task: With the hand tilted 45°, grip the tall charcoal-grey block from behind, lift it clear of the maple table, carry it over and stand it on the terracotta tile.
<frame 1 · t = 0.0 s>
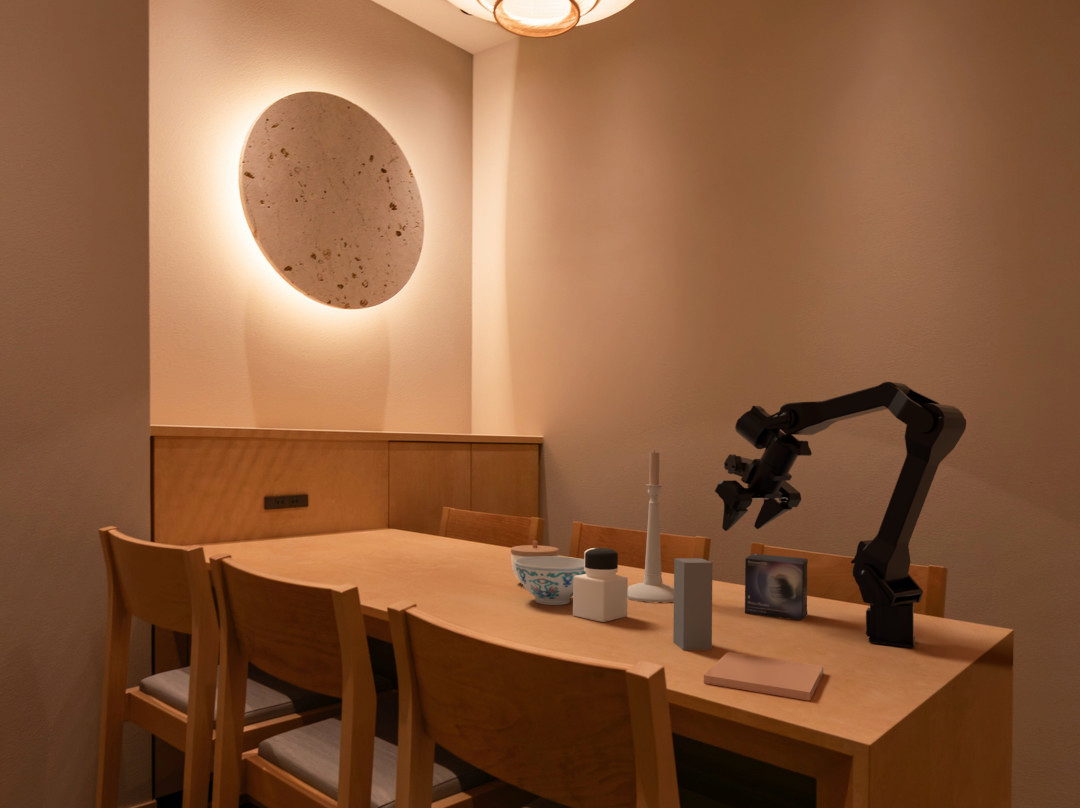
hand: (740, 528, 147), 15 cm above the table, tool tilted 35°, fingers open, 9 cm apart
grey block: (692, 645, 115), on the table
chinaware: (552, 602, 146), on the table
lidded jar: (534, 584, 165), on the table
candlestick: (652, 597, 153), on the table
terracotta tile: (765, 678, 99), on the table
small box: (775, 615, 139), on the table
medicine bottle: (599, 617, 134), on the table
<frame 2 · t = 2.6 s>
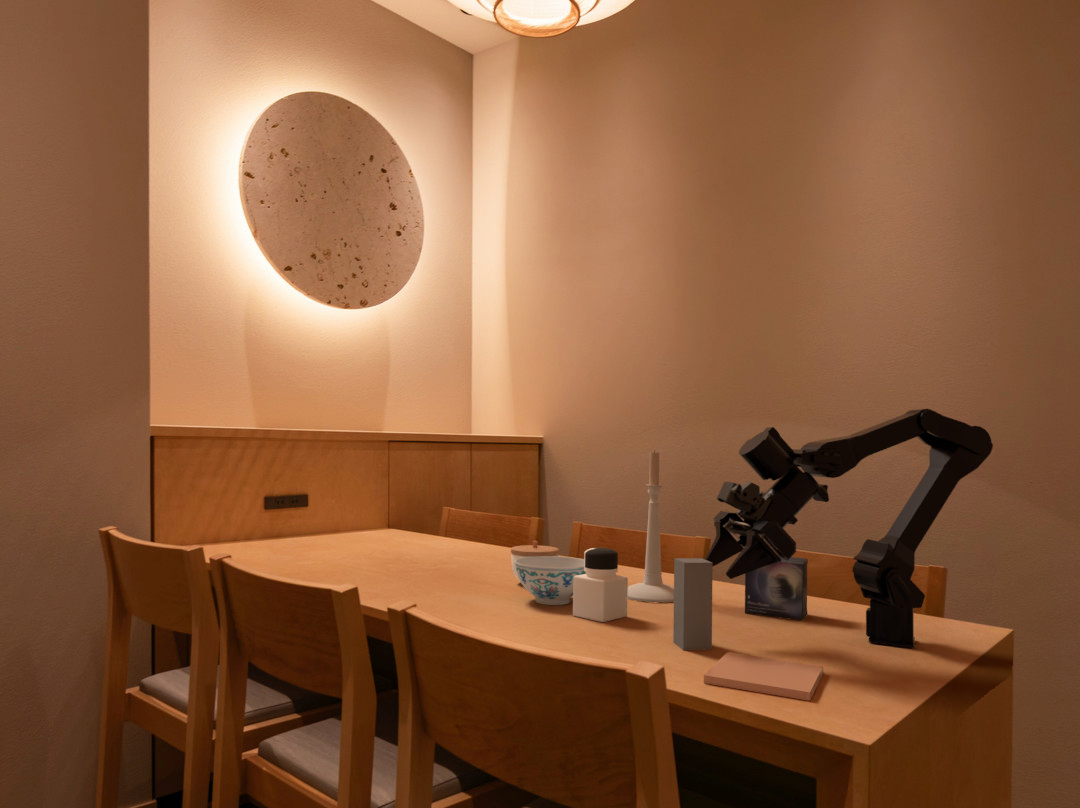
hand: (715, 571, 116), 11 cm above the table, tool tilted 45°, fingers open, 9 cm apart
nothing on the table moved.
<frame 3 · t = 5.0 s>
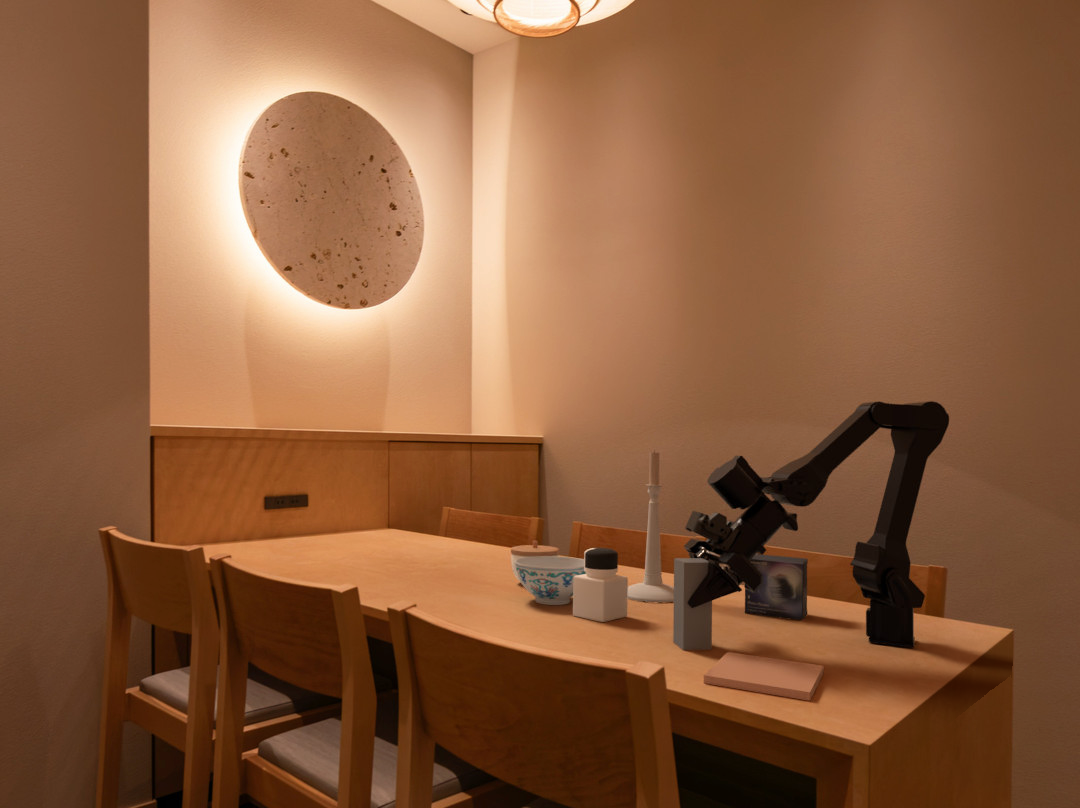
hand: (684, 602, 115), 7 cm above the table, tool tilted 45°, fingers closed on grey block, 4 cm apart
grey block: (692, 645, 115), on the table, touching gripper
everything else where it was.
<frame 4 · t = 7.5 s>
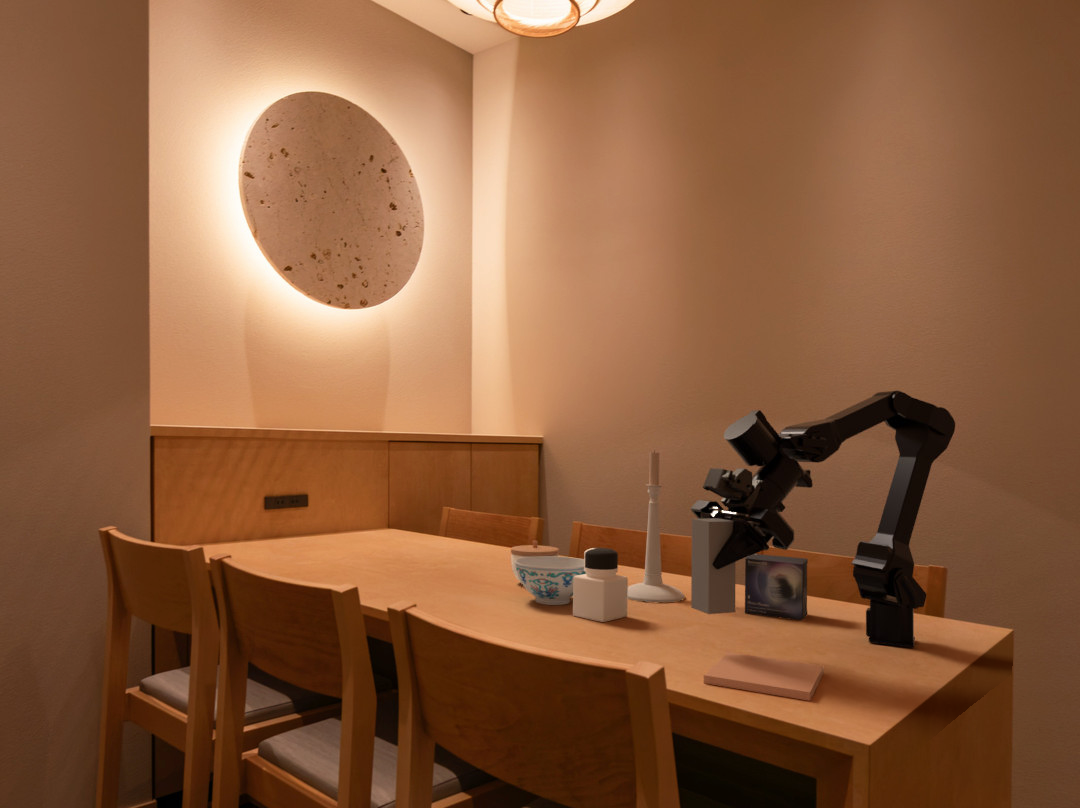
hand: (705, 564, 108), 13 cm above the table, tool tilted 45°, fingers closed on grey block, 4 cm apart
grey block: (713, 609, 108), point 7 cm above the table, touching gripper
everything else where it was.
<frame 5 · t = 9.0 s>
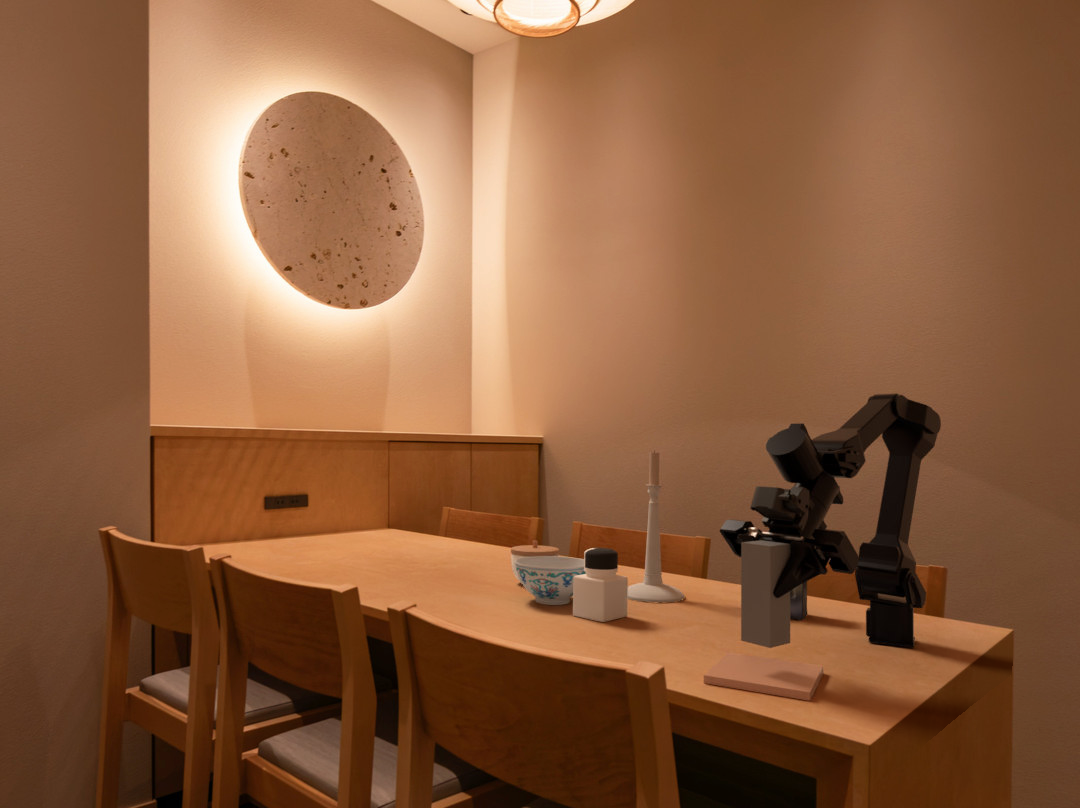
hand: (759, 592, 99), 11 cm above the table, tool tilted 45°, fingers closed on grey block, 4 cm apart
grey block: (765, 641, 99), point 5 cm above the table, touching gripper
everything else where it was.
when the fingers open (8 cm above the table, at t = 10.3 s): grey block stays where it is, resting on terracotta tile.
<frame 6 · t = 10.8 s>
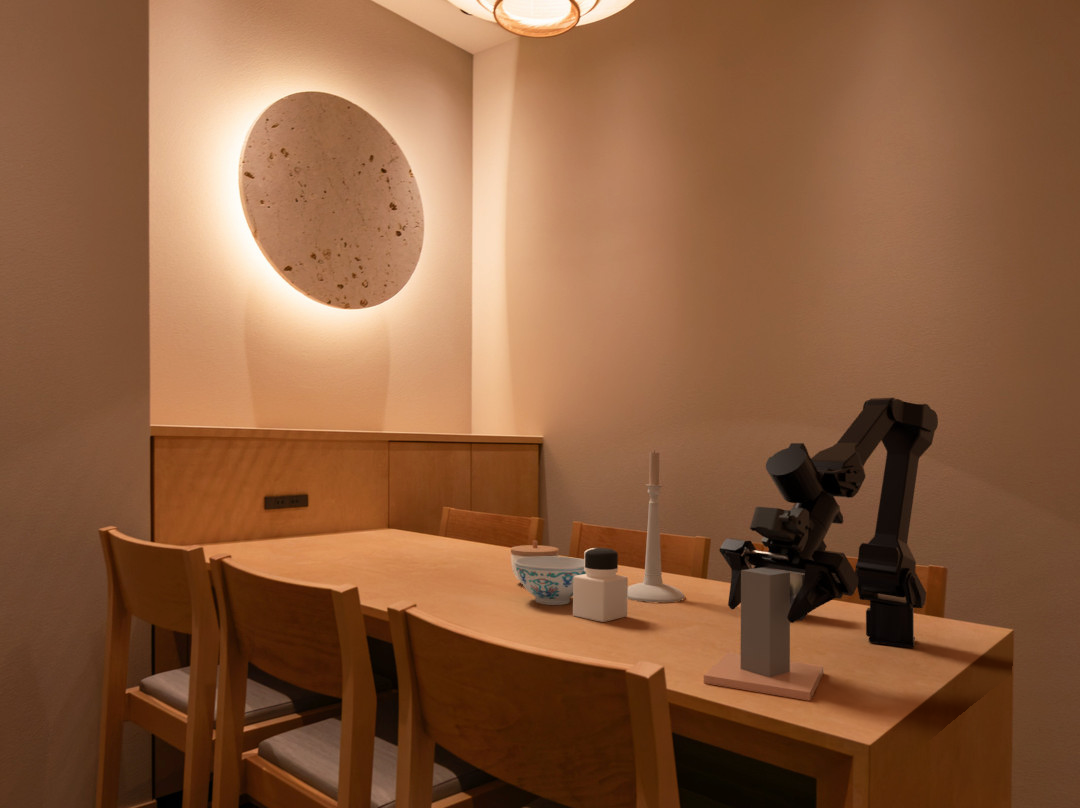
hand: (759, 613, 98), 9 cm above the table, tool tilted 45°, fingers open, 9 cm apart
grey block: (765, 670, 99), point 1 cm above the table, touching terracotta tile
everything else where it was.
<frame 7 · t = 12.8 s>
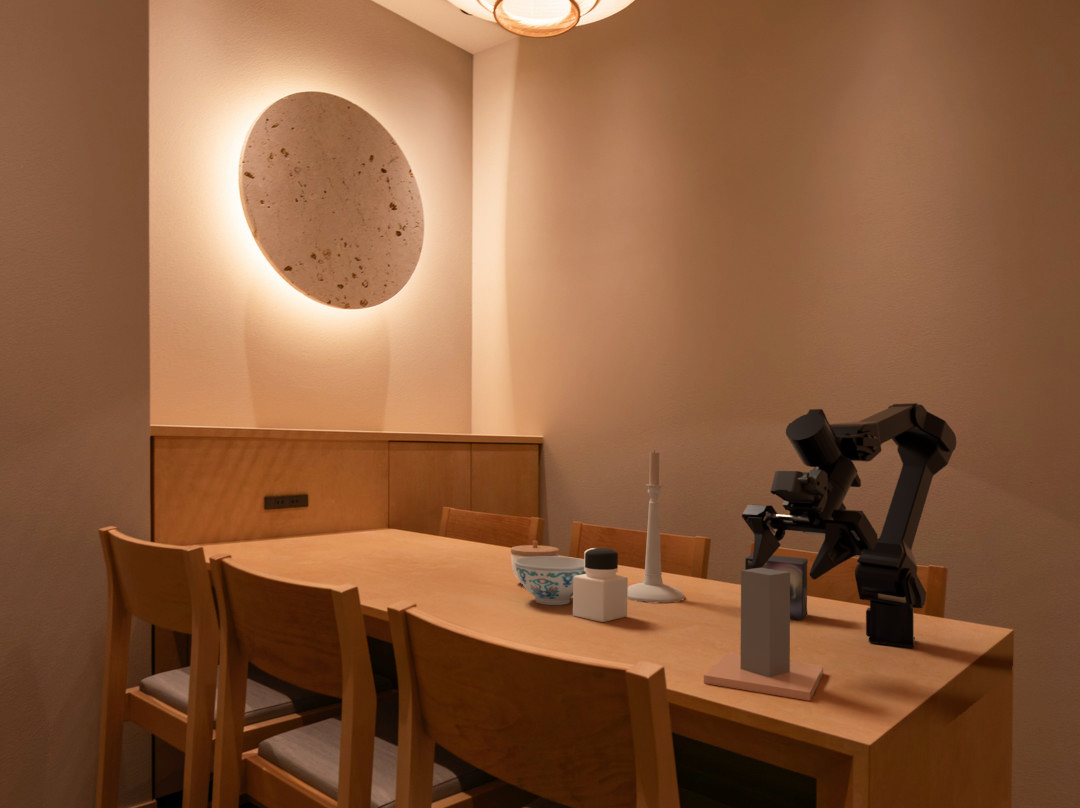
hand: (782, 573, 102), 13 cm above the table, tool tilted 45°, fingers open, 9 cm apart
nothing on the table moved.
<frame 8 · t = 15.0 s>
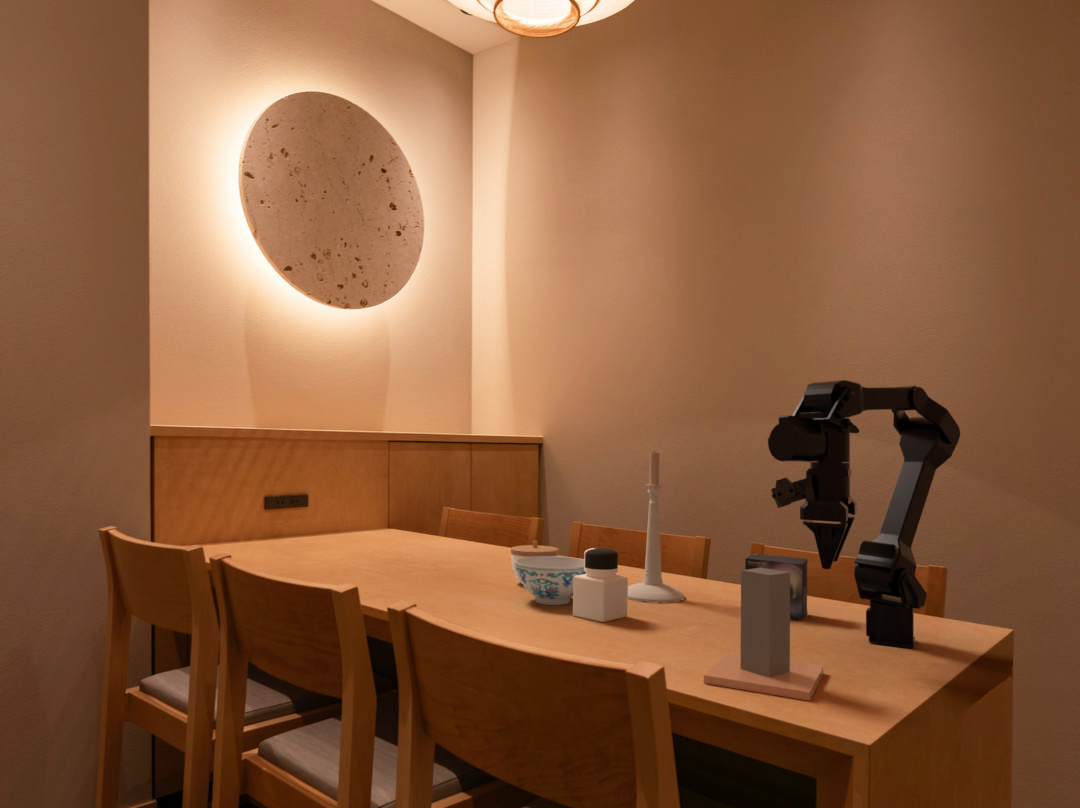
hand: (829, 564, 114), 13 cm above the table, tool pointing down, fingers open, 9 cm apart
nothing on the table moved.
at the end: grey block inside the target area on the terracotta tile (0.0 cm from its centre), point 1.0 cm above the terracotta tile's base; grey block tilted 0°; the gripper is holding nothing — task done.
